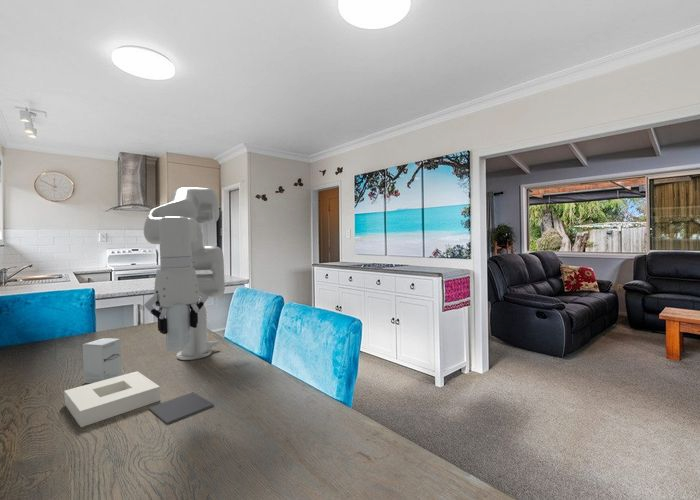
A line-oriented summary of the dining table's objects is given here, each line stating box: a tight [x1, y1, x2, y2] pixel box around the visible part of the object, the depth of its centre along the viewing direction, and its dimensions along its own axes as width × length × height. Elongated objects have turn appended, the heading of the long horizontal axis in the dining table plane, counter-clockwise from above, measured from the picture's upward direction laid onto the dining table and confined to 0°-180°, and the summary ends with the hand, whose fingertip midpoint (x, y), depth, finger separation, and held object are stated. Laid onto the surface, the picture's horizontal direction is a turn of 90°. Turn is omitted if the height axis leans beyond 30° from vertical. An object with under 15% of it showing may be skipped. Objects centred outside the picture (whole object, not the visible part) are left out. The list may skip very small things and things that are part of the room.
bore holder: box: [64, 371, 161, 428], centre depth 97 cm, size 18×18×4 cm
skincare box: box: [165, 304, 191, 352], centre depth 93 cm, size 6×4×12 cm
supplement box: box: [82, 337, 122, 384], centre depth 114 cm, size 7×7×13 cm
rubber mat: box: [148, 391, 215, 425], centre depth 94 cm, size 12×12×1 cm
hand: (178, 329), depth 93 cm, fingers closed on skincare box, 7 cm apart
